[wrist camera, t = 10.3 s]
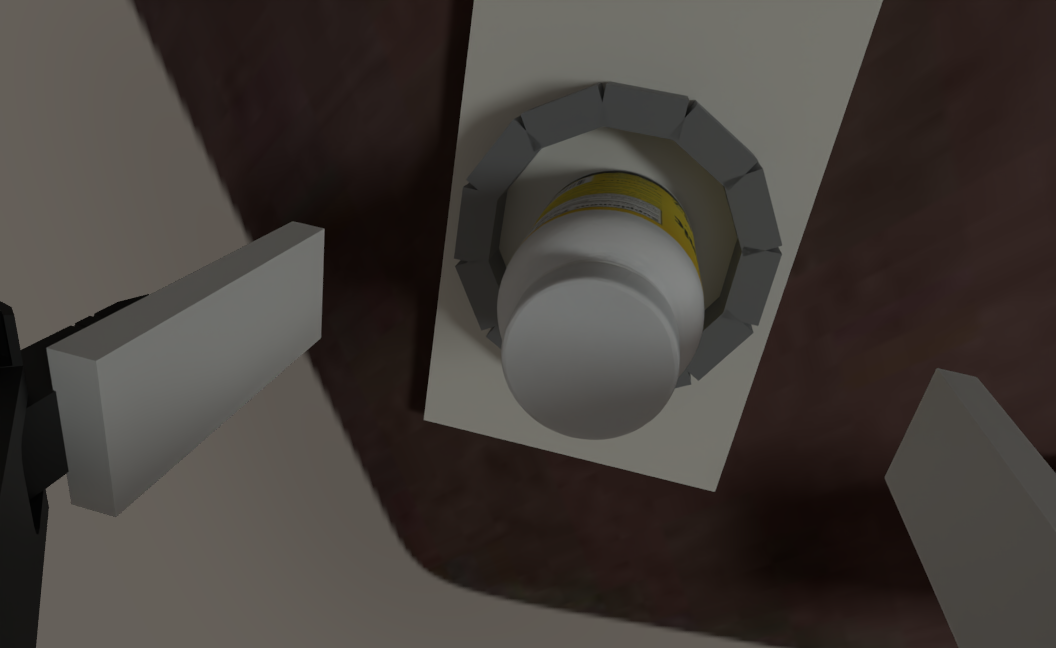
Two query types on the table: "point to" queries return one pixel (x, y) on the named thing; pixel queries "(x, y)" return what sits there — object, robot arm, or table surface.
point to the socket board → (659, 153)
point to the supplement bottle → (601, 306)
